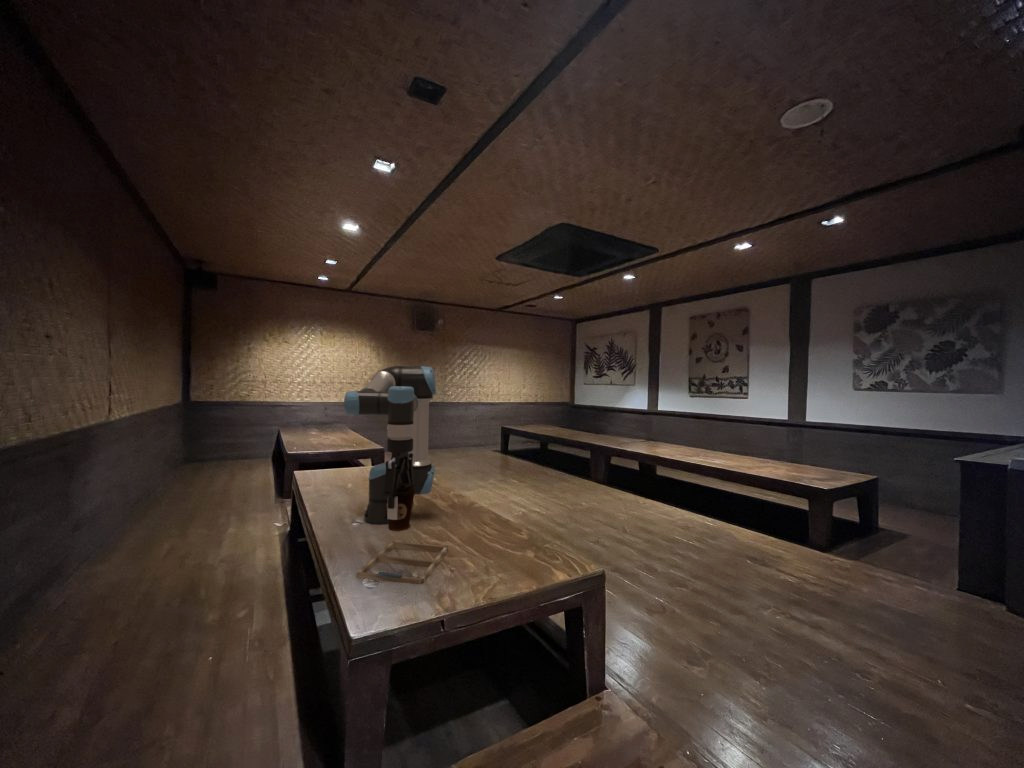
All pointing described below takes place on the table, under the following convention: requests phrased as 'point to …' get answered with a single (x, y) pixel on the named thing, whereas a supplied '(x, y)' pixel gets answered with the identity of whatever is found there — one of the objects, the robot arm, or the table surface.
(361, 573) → the wooden frame
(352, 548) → the table surface
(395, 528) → the coffee cup
